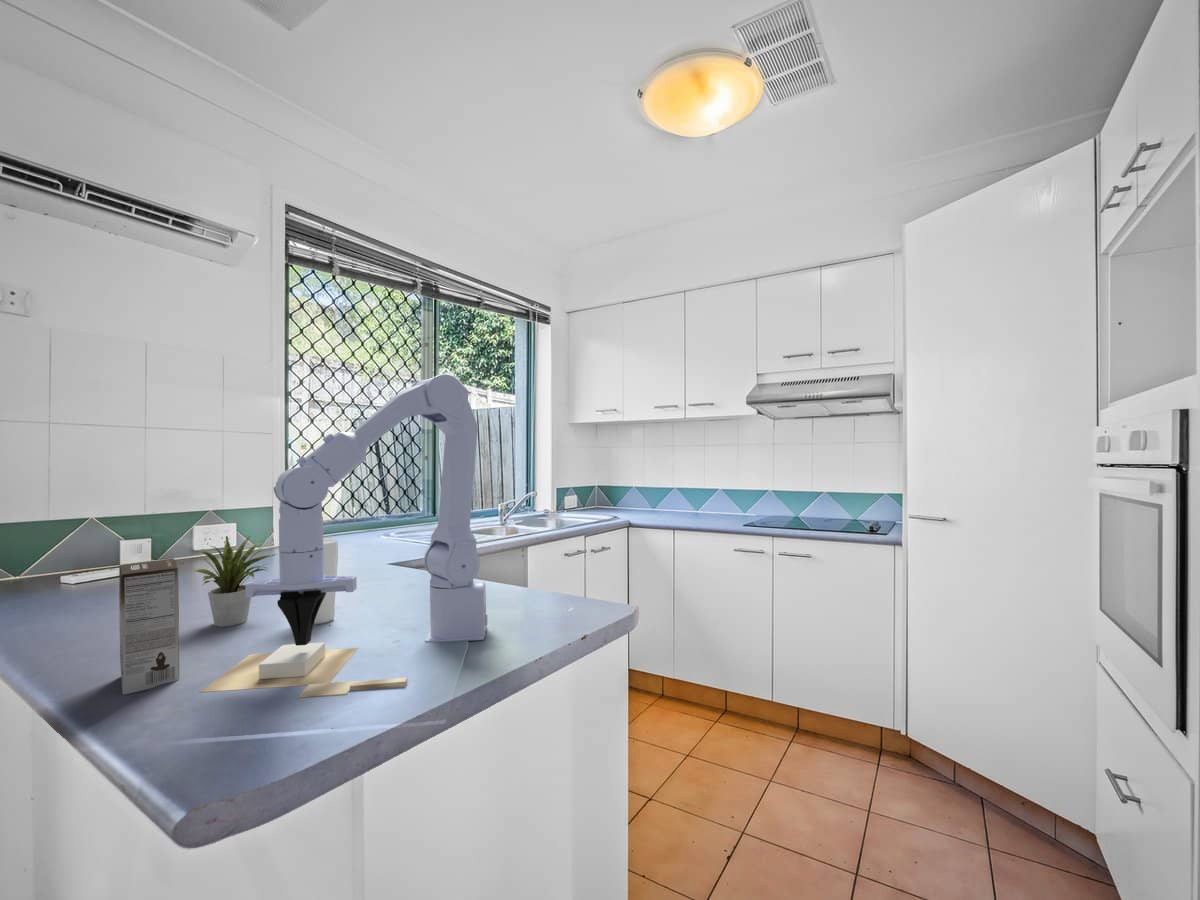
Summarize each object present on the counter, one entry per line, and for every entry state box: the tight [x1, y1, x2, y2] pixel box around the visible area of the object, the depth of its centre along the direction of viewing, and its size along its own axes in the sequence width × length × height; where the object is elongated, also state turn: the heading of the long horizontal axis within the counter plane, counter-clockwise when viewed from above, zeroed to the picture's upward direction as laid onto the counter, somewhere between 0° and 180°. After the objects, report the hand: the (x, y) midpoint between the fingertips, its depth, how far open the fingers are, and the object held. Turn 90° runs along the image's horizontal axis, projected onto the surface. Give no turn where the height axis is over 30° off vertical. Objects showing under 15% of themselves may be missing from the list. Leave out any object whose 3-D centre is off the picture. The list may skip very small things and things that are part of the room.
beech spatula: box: [296, 676, 408, 699], centre depth 75 cm, size 13×4×1 cm, turn 98°
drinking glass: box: [312, 538, 339, 626], centre depth 106 cm, size 7×7×15 cm
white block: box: [259, 642, 326, 679], centre depth 82 cm, size 2×8×6 cm
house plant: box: [193, 535, 278, 628], centre depth 105 cm, size 14×14×16 cm
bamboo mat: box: [199, 647, 359, 693], centre depth 82 cm, size 16×14×1 cm
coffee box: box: [118, 558, 180, 696], centre depth 80 cm, size 9×6×16 cm
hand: (303, 643), depth 82 cm, fingers closed
